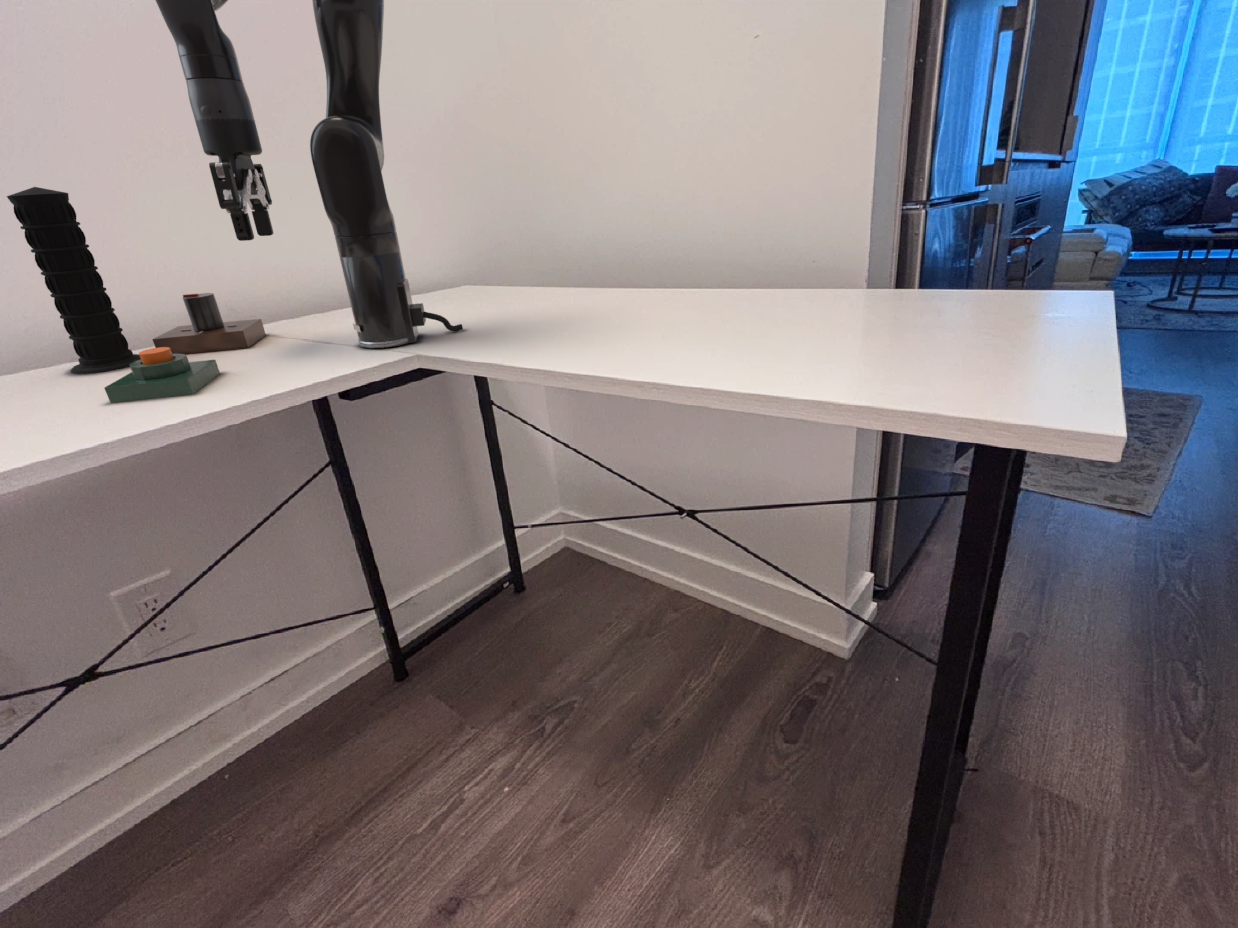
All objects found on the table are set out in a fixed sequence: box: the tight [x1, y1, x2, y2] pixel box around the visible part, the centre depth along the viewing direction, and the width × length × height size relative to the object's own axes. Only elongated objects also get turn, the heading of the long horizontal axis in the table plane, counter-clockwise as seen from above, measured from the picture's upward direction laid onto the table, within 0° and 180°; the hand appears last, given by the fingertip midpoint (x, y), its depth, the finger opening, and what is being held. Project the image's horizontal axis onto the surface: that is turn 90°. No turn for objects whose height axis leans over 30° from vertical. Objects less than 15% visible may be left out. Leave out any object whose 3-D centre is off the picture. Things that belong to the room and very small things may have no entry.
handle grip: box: [6, 186, 141, 376], centre depth 95 cm, size 10×26×10 cm
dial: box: [182, 292, 224, 331], centre depth 107 cm, size 5×5×6 cm
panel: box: [152, 318, 267, 355], centre depth 109 cm, size 14×10×3 cm
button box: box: [103, 354, 221, 404], centre depth 86 cm, size 10×10×4 cm
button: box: [138, 347, 174, 365], centre depth 85 cm, size 4×4×2 cm
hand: (256, 237), depth 96 cm, fingers open, 8 cm apart
